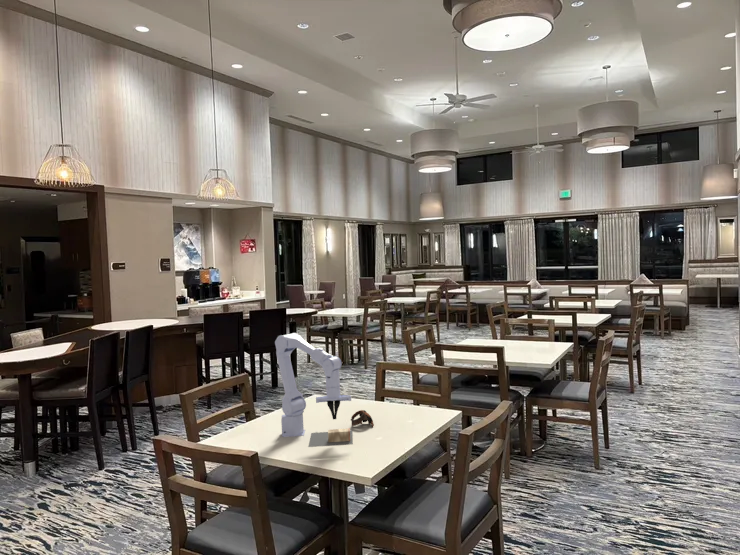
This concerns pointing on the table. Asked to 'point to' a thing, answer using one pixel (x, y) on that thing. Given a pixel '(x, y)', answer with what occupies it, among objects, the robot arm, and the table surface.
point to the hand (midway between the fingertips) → (334, 418)
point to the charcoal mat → (326, 440)
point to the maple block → (339, 435)
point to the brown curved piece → (361, 418)
